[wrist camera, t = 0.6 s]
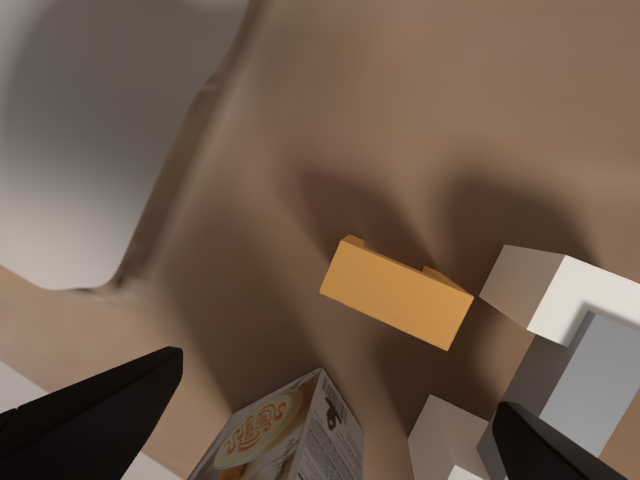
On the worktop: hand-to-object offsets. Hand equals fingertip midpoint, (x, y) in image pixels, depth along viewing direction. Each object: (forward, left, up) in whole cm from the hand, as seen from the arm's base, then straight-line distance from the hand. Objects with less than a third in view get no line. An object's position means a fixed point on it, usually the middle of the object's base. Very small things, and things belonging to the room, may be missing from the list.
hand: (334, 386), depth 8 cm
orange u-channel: (-2, -2, -14) cm, 14 cm away
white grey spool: (-12, +1, -14) cm, 18 cm away
